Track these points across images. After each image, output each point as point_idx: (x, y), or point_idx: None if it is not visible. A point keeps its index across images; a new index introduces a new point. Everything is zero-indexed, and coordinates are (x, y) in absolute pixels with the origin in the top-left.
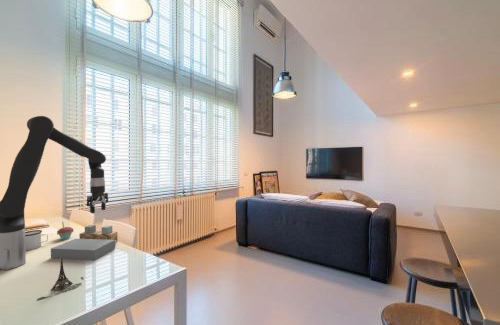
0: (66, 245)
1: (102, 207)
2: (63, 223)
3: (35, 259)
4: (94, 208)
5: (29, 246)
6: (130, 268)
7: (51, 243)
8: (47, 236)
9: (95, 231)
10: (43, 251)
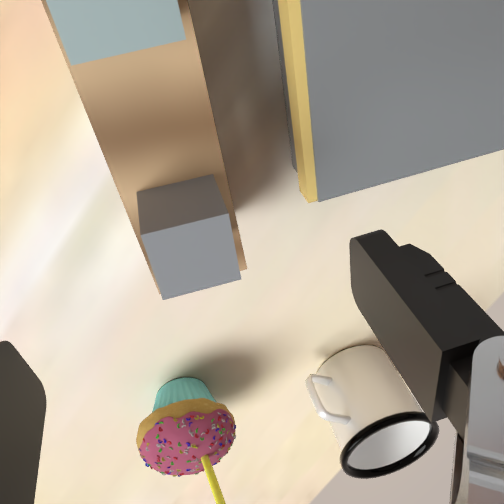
0: (485, 86)
1: (22, 430)
2: (216, 492)
3: (500, 180)
4: (420, 304)
5: (388, 361)
6: None
7: (276, 363)
8: (319, 399)
9: (141, 192)
10: None
